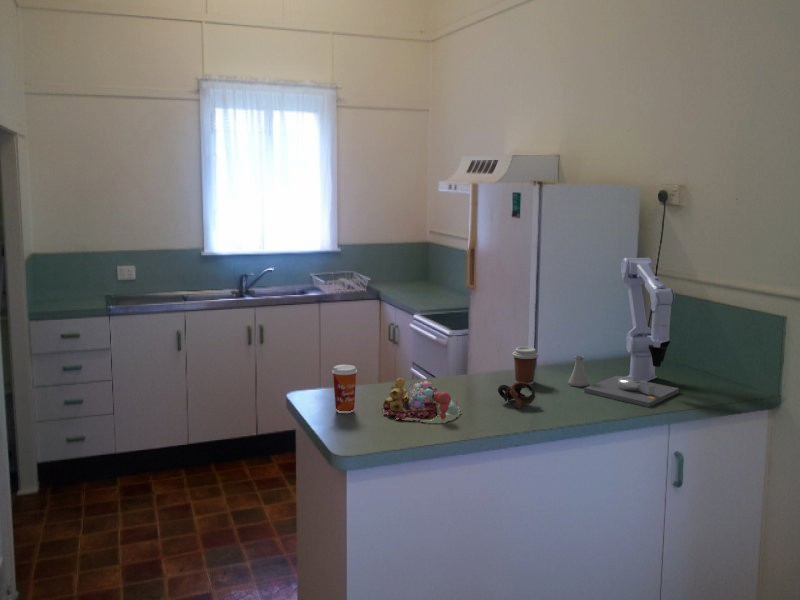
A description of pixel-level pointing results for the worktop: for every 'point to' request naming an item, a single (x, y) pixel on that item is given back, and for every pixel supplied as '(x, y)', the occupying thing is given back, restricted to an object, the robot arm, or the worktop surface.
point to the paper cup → (344, 386)
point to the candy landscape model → (419, 402)
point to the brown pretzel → (517, 393)
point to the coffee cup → (525, 364)
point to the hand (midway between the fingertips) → (658, 363)
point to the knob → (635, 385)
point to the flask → (578, 373)
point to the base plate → (631, 392)
